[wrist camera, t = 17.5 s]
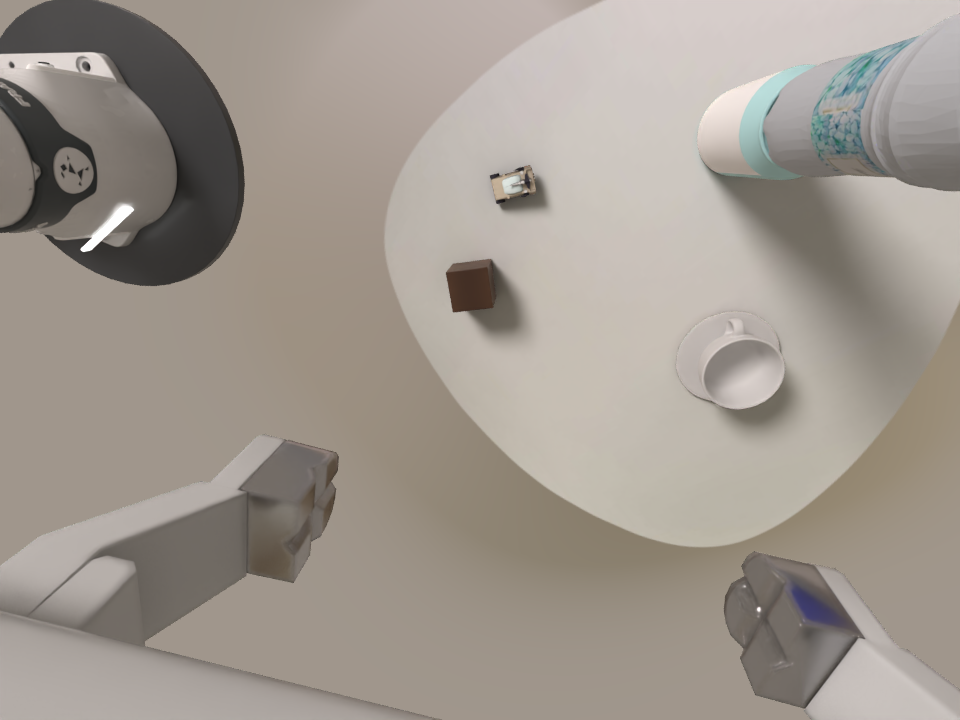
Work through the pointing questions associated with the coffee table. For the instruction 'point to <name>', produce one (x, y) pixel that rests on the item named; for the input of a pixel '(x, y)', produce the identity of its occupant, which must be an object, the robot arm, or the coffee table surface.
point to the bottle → (876, 114)
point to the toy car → (513, 184)
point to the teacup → (731, 360)
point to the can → (744, 129)
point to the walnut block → (471, 285)
